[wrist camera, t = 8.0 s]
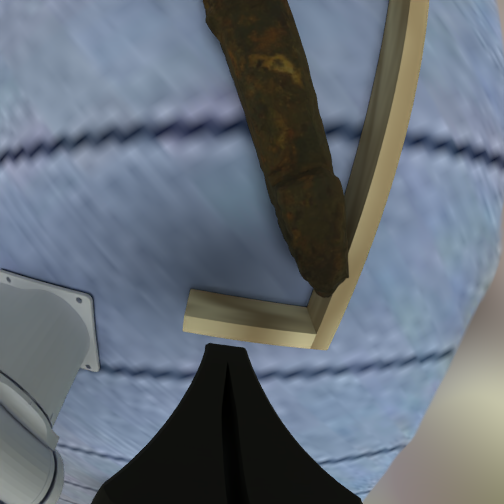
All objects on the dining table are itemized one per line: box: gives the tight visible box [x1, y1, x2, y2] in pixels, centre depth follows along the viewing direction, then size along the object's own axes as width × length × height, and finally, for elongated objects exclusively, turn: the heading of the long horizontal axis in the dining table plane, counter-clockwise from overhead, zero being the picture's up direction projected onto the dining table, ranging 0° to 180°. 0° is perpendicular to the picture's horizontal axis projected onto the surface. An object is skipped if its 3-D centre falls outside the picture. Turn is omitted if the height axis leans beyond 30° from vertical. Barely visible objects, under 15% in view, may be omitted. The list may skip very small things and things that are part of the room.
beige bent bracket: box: [183, 0, 429, 350], centre depth 15 cm, size 9×24×3 cm, turn 167°
